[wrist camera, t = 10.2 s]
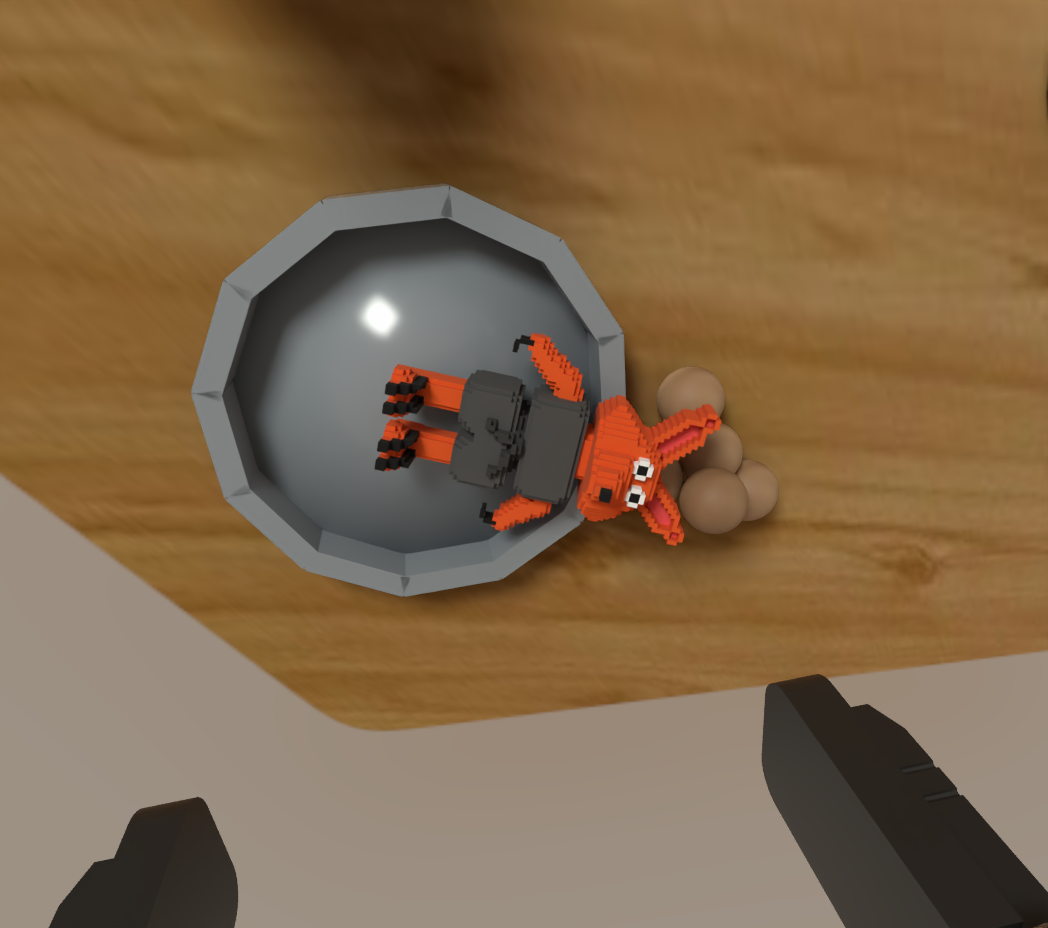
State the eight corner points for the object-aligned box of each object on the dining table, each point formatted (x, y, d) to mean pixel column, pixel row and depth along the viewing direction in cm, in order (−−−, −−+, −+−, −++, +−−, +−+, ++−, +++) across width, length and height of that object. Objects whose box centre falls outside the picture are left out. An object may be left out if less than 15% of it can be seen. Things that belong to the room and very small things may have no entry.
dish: (599, 166, 26) (617, 166, 24) (616, 530, 33) (631, 556, 30) (159, 214, 24) (135, 220, 22) (273, 589, 31) (263, 621, 29)
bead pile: (767, 346, 30) (831, 378, 26) (758, 498, 33) (814, 550, 29) (606, 369, 29) (643, 406, 25) (613, 523, 32) (647, 580, 28)
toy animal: (380, 326, 21) (756, 409, 21) (418, 302, 26) (722, 369, 26) (351, 548, 24) (683, 621, 24) (391, 488, 29) (664, 548, 29)
